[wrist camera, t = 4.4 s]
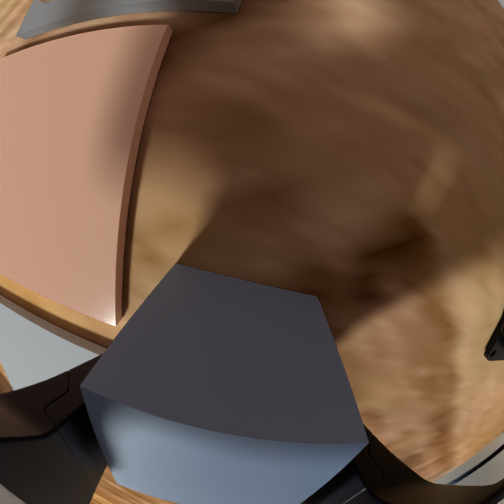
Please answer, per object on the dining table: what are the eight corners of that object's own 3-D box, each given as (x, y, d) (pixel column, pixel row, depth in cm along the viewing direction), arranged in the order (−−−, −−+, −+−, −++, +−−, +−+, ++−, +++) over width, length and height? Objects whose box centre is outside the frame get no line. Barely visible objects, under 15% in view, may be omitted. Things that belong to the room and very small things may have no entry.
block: (317, 296, 9) (368, 442, 4) (277, 392, 11) (281, 516, 5) (175, 263, 9) (79, 385, 3) (165, 368, 11) (116, 483, 5)
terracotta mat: (172, 31, 7) (167, 24, 6) (122, 318, 10) (115, 326, 9) (0, 63, 6) (-7, 61, 6) (-20, 254, 9) (-27, 257, 9)
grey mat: (123, 354, 10) (117, 362, 10) (136, 457, 14) (134, 463, 13) (-16, 284, 10) (-22, 287, 10) (23, 398, 13) (19, 402, 13)
